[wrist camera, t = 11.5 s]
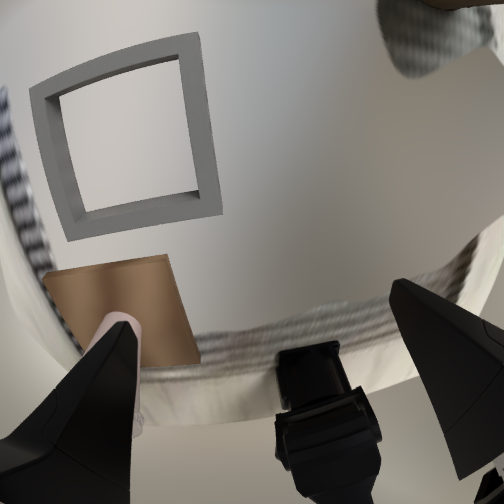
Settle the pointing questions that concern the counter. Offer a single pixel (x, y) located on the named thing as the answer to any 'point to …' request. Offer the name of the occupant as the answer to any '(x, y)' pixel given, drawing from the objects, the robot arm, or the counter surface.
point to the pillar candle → (460, 3)
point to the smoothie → (121, 316)
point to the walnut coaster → (128, 306)
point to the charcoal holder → (59, 159)
